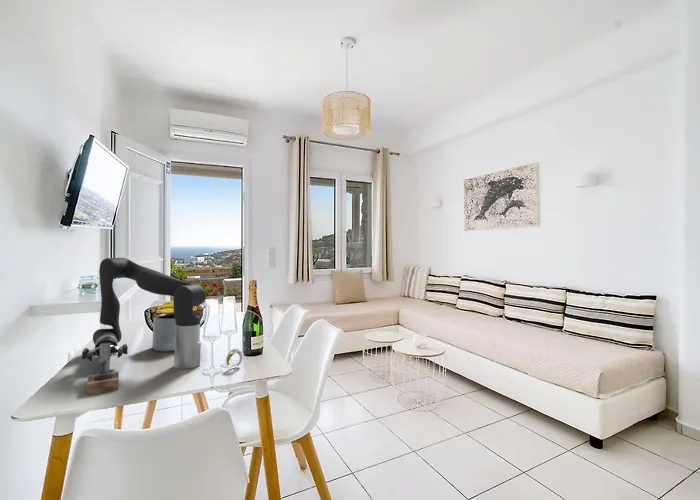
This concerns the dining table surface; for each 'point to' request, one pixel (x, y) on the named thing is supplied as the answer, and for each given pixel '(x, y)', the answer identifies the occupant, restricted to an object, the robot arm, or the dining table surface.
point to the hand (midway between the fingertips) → (105, 356)
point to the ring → (233, 354)
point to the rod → (104, 358)
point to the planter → (164, 332)
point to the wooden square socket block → (102, 383)
